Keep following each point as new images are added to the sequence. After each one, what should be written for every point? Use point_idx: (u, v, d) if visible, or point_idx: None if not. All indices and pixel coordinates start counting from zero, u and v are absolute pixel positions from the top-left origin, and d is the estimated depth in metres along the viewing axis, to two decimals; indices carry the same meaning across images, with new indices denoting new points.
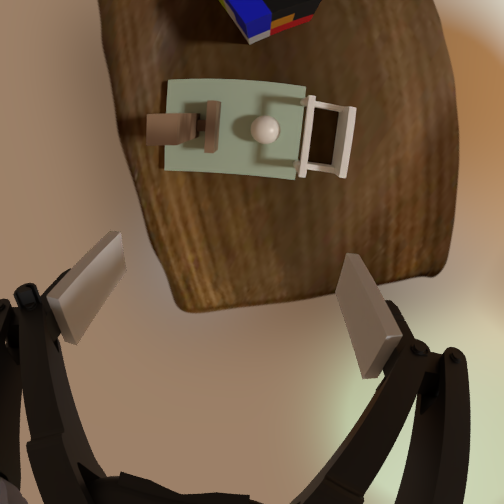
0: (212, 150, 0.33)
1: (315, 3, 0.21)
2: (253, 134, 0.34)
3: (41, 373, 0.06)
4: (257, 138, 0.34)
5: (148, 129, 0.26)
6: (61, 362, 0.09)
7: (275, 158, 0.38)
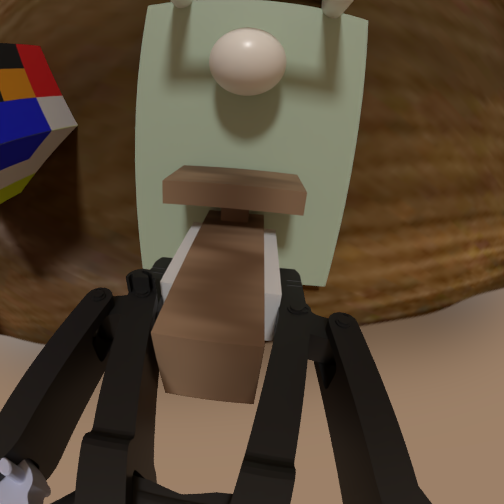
0: (299, 193, 0.13)
1: None
2: (259, 86, 0.12)
3: (131, 368, 0.07)
4: (270, 76, 0.11)
5: (207, 396, 0.09)
6: None
7: (322, 50, 0.13)
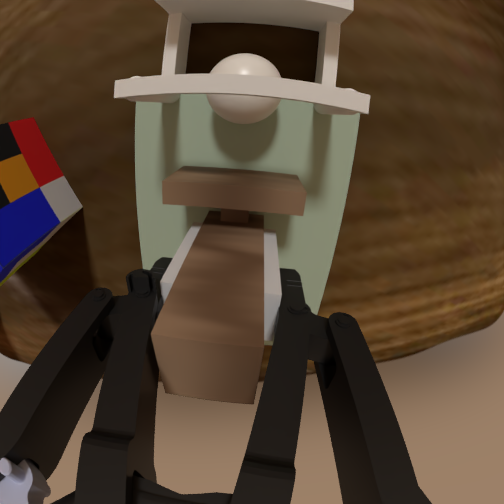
0: (298, 194, 0.13)
1: None
2: (262, 57, 0.12)
3: (131, 368, 0.07)
4: None
5: (207, 396, 0.09)
6: None
7: (310, 153, 0.16)
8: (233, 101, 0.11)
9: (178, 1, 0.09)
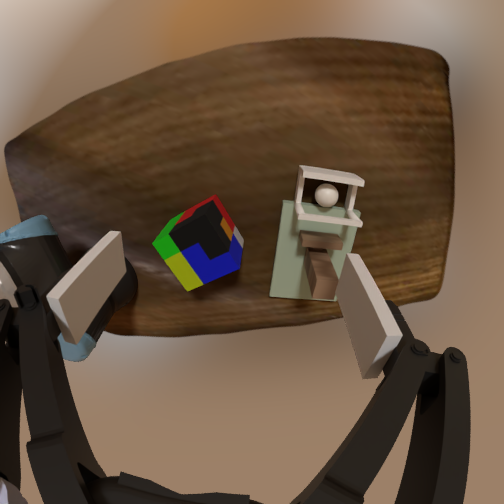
0: (341, 244, 0.44)
1: (209, 213, 0.40)
2: None
3: (41, 373, 0.06)
4: None
5: (323, 298, 0.41)
6: (61, 362, 0.09)
7: (342, 227, 0.47)
8: (327, 187, 0.43)
9: None
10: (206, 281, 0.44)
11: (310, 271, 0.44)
